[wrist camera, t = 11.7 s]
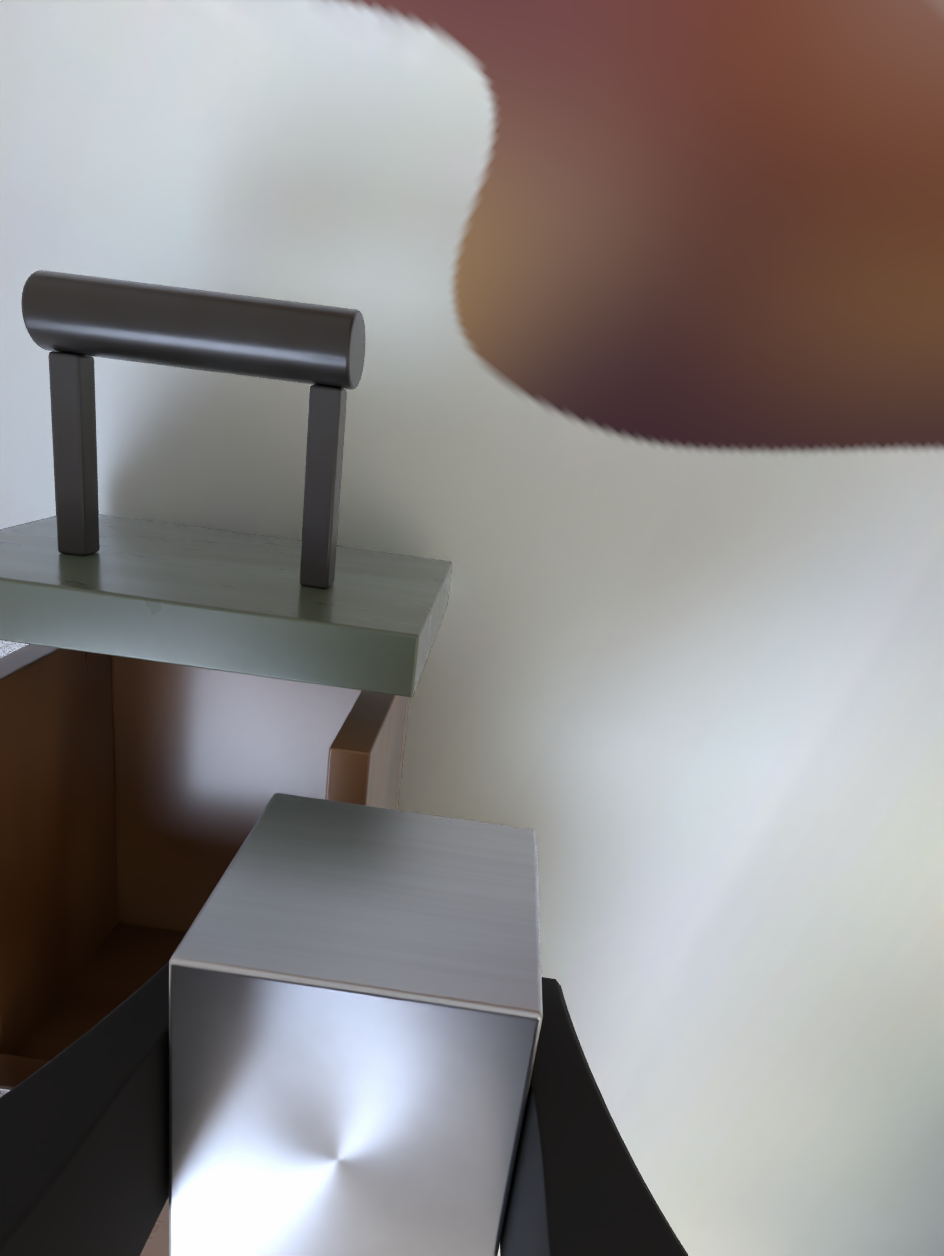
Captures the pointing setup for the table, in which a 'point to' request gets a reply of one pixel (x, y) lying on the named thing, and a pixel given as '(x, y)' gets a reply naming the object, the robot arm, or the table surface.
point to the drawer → (179, 660)
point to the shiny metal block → (354, 1036)
